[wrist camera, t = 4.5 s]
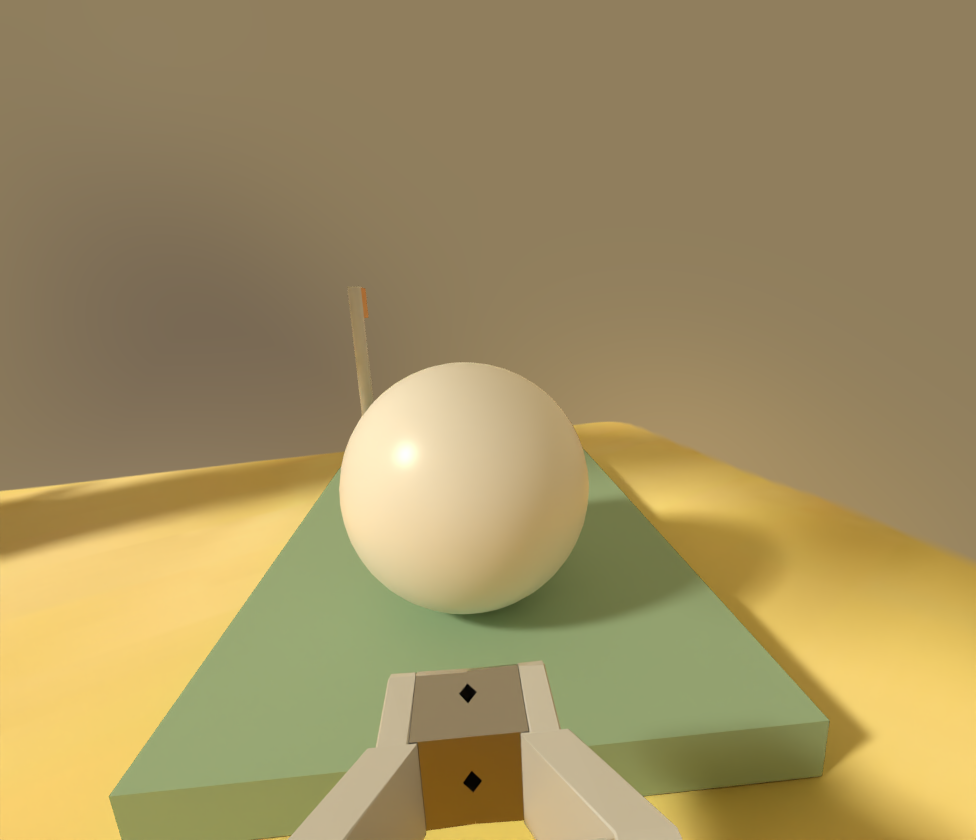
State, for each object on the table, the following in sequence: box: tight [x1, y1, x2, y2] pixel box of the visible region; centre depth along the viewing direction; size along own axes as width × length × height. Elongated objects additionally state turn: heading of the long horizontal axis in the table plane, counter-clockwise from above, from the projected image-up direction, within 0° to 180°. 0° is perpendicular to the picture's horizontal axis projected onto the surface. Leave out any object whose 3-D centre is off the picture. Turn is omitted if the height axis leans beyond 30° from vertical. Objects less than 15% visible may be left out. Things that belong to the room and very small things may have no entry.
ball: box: [339, 362, 589, 614], centre depth 20 cm, size 10×10×10 cm
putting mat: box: [109, 286, 829, 840], centre depth 28 cm, size 32×20×16 cm, turn 4°
